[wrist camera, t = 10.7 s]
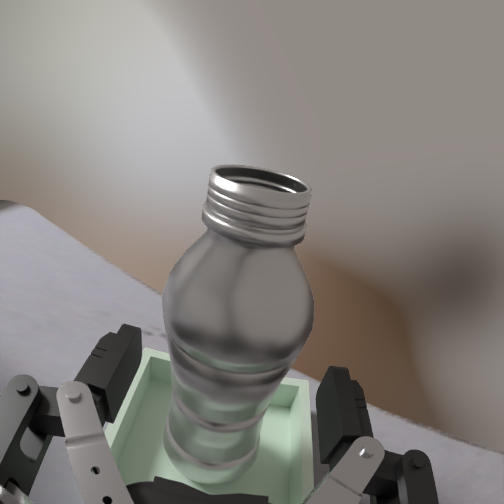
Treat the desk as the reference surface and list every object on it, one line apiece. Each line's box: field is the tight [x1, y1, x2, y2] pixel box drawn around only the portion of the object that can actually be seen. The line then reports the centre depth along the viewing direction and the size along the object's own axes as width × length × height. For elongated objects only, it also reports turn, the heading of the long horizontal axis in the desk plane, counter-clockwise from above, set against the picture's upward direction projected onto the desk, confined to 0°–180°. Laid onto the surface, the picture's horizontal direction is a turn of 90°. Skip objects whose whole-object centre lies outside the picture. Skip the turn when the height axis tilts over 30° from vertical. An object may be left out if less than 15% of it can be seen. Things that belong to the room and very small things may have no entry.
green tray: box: [104, 347, 314, 504], centre depth 19 cm, size 14×14×4 cm
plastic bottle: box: [162, 165, 314, 485], centre depth 15 cm, size 6×7×20 cm
